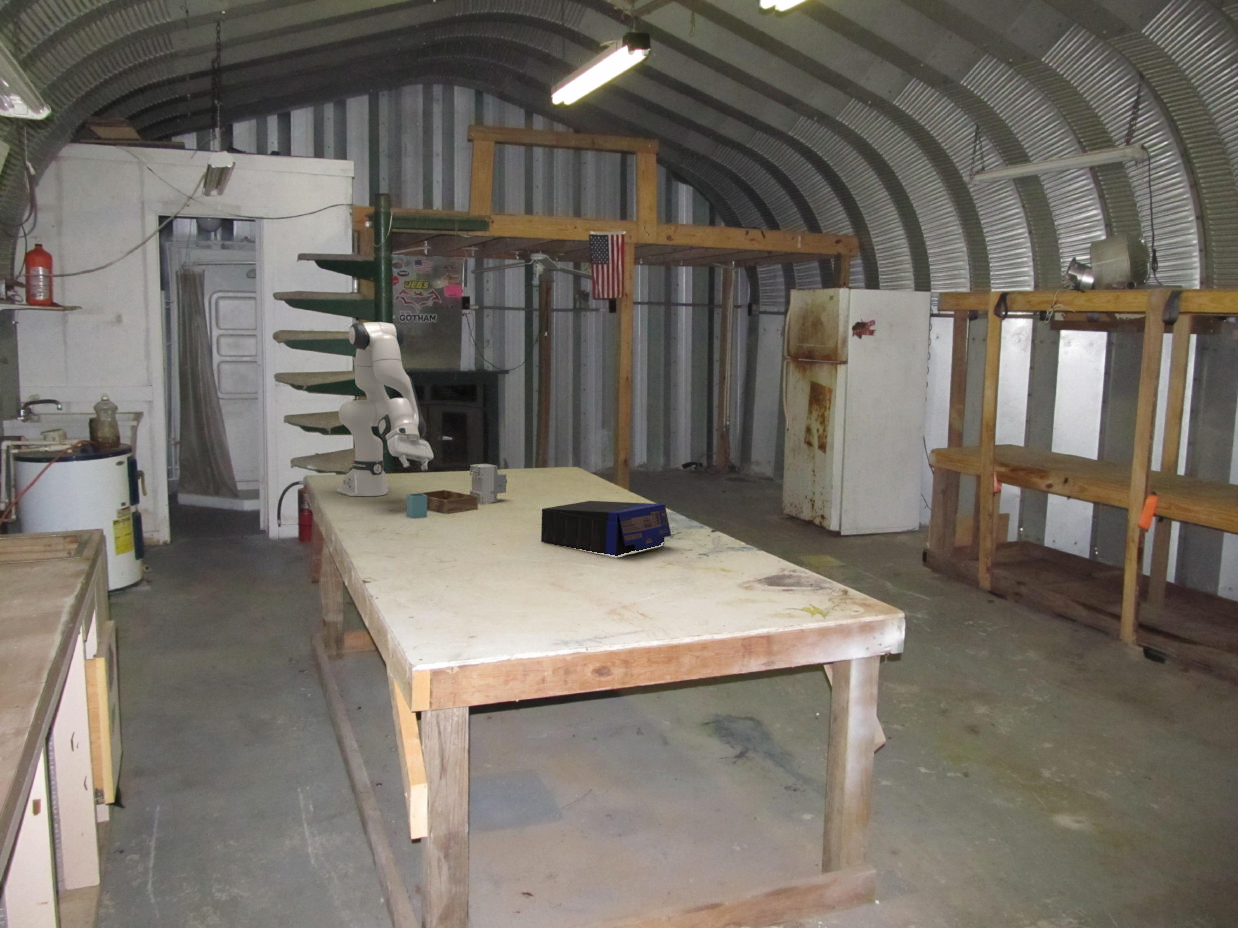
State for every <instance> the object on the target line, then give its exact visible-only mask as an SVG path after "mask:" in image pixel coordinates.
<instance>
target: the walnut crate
mask: <svg viewBox="0 0 1238 928" xmlns="http://www.w3.org/2000/svg"><path fill="white" fill-rule="evenodd" d="M419 493H420V492H417V493H415V494H419ZM421 493H422V494H424V495H427V511H431V512H435V511H436V512H435V513H440V514H444V513H445V514H444V515H447V514H446V513H448V514H454V513H461V512H460V511H462V512H467V511H474V509H475V510H479V504H478V496H474V495H470V493H469V494H468V493H462V492H458V491H452V490H447V489H442V490H435V491H434V490H433V491H426V492H421Z"/></svg>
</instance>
